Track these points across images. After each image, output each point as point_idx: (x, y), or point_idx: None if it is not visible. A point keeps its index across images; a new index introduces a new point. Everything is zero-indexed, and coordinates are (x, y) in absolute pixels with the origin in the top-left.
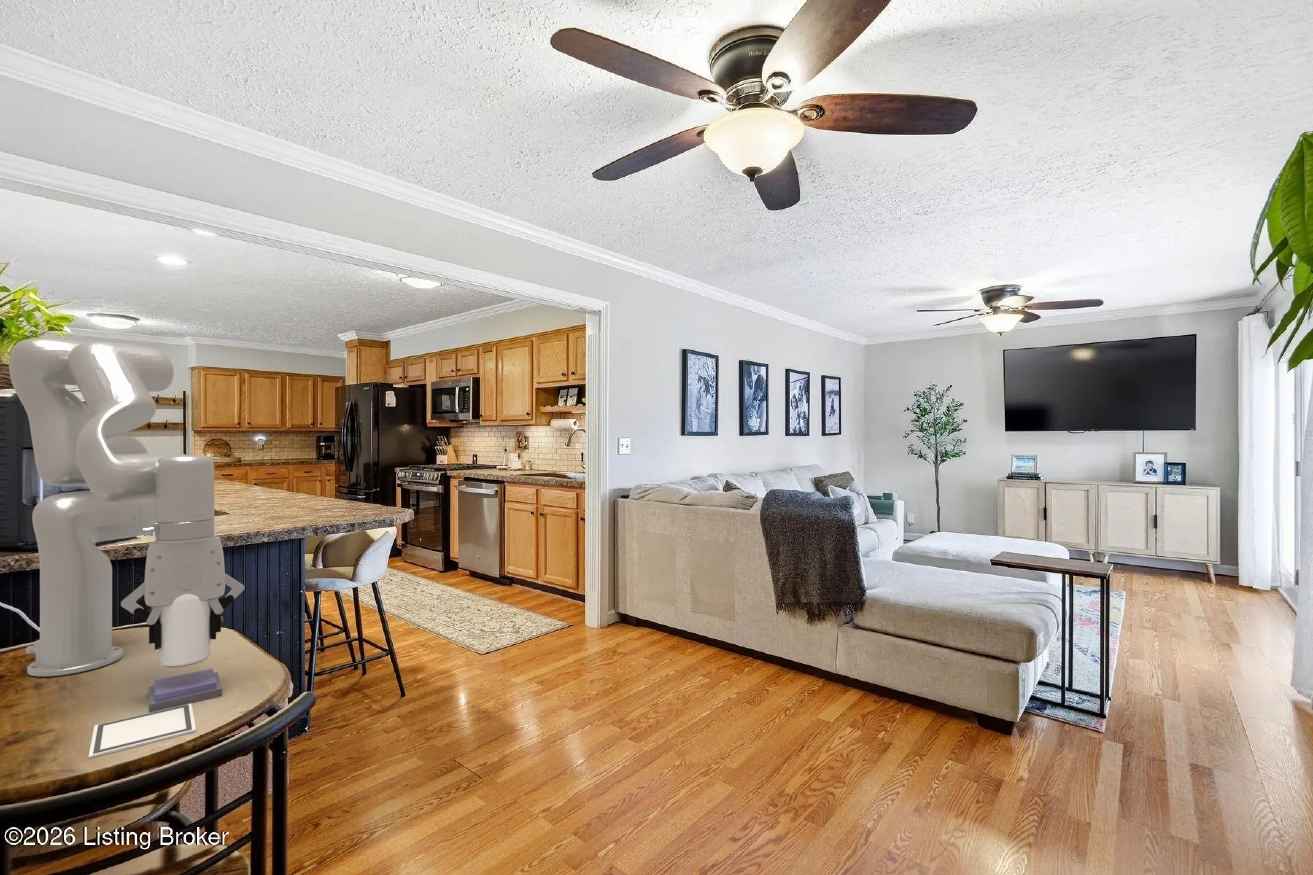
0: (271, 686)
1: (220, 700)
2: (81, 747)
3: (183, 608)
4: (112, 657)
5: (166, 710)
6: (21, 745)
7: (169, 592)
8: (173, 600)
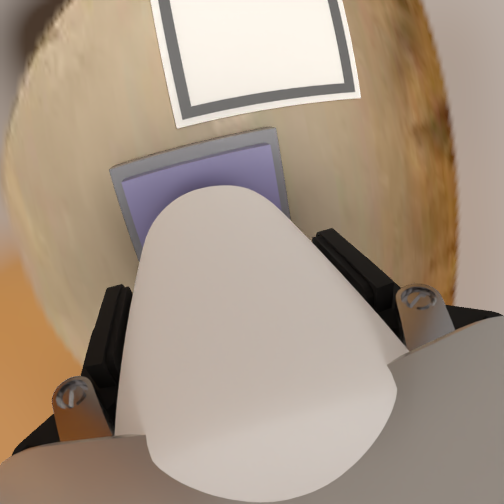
0: (16, 191)
1: (111, 134)
2: (352, 4)
3: (274, 331)
4: None
5: (228, 99)
6: (437, 88)
7: (487, 450)
8: (401, 394)
